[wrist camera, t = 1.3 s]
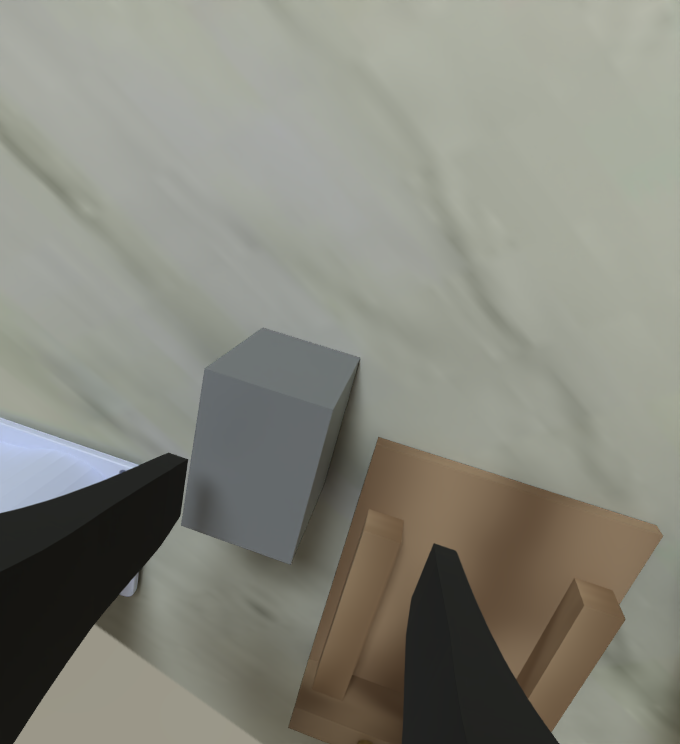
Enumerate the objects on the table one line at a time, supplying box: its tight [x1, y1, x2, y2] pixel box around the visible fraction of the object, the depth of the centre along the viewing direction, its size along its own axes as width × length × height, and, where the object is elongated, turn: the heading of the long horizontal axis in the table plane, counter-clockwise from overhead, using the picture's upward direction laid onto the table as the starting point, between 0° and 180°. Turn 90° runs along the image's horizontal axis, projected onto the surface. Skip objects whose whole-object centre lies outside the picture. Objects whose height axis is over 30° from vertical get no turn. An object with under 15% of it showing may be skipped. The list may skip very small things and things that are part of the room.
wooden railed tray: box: [288, 437, 663, 744], centre depth 19 cm, size 11×14×4 cm
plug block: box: [181, 328, 360, 565], centre depth 17 cm, size 4×6×5 cm, turn 165°
